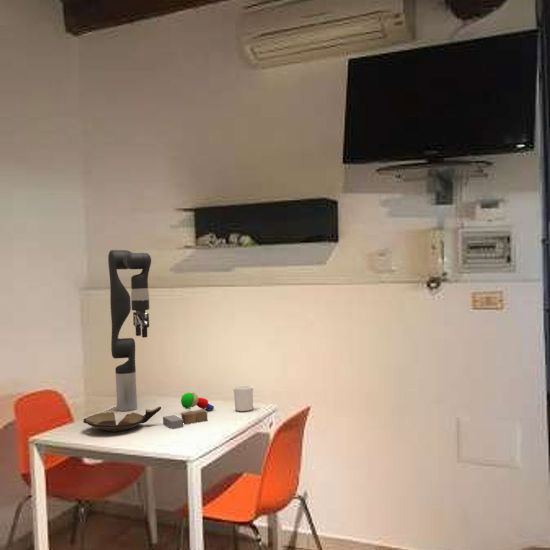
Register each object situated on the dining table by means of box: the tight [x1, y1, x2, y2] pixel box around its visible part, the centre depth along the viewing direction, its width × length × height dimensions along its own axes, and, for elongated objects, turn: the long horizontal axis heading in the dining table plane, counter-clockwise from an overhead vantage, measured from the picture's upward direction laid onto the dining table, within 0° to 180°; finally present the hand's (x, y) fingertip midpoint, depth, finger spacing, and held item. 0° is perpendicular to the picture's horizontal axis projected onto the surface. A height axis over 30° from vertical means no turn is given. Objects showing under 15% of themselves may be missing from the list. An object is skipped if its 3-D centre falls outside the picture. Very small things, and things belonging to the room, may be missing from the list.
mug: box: [232, 385, 254, 413], centre depth 270 cm, size 11×9×10 cm
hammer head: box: [162, 414, 184, 430], centre depth 247 cm, size 10×5×3 cm, turn 31°
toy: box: [180, 392, 215, 412], centre depth 269 cm, size 8×8×15 cm
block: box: [181, 409, 208, 426], centre depth 252 cm, size 4×4×10 cm
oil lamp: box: [82, 406, 162, 432], centre depth 244 cm, size 22×30×8 cm
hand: (141, 336), depth 258 cm, fingers open, 8 cm apart
